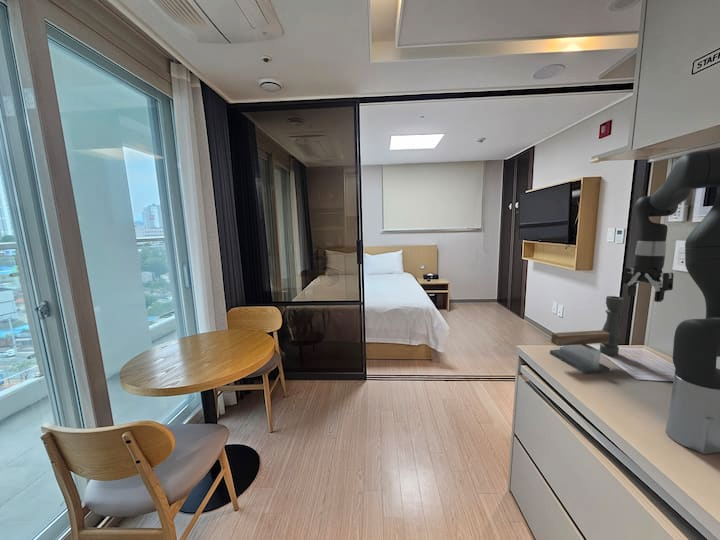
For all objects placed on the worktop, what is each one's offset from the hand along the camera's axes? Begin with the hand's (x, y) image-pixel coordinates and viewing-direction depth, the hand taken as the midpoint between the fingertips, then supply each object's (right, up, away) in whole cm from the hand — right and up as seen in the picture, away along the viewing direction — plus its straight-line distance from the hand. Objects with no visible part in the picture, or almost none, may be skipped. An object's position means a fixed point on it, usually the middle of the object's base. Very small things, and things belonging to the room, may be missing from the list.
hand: (644, 298), depth 104 cm
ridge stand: (-12, -28, +16) cm, 34 cm away
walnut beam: (-12, -19, +14) cm, 27 cm away
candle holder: (+7, -26, +23) cm, 36 cm away
